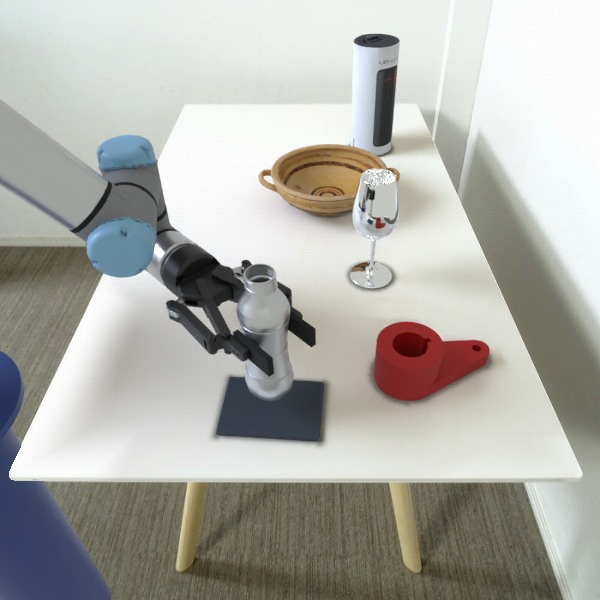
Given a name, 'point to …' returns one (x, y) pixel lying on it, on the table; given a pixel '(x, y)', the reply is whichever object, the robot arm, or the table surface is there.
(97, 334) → the table surface
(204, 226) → the table surface
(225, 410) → the mat
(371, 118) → the speaker
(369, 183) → the wineglass
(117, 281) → the table surface
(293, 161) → the ceramic bowl
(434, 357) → the lever
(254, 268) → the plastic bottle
